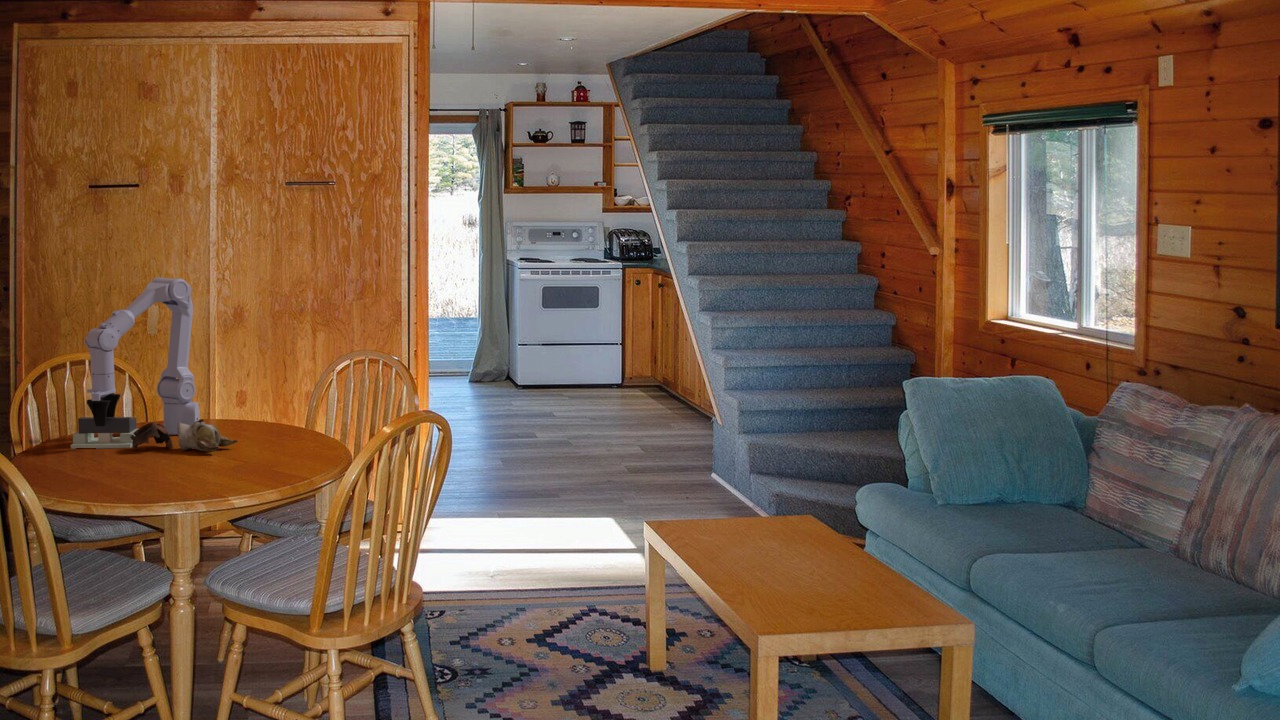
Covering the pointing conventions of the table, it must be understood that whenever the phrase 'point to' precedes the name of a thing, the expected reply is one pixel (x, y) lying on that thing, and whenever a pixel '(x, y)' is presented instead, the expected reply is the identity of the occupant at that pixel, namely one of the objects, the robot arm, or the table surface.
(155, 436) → the dark brown legged piece
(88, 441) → the stand
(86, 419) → the dark gray rectangular block
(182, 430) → the ceramic sculpture
